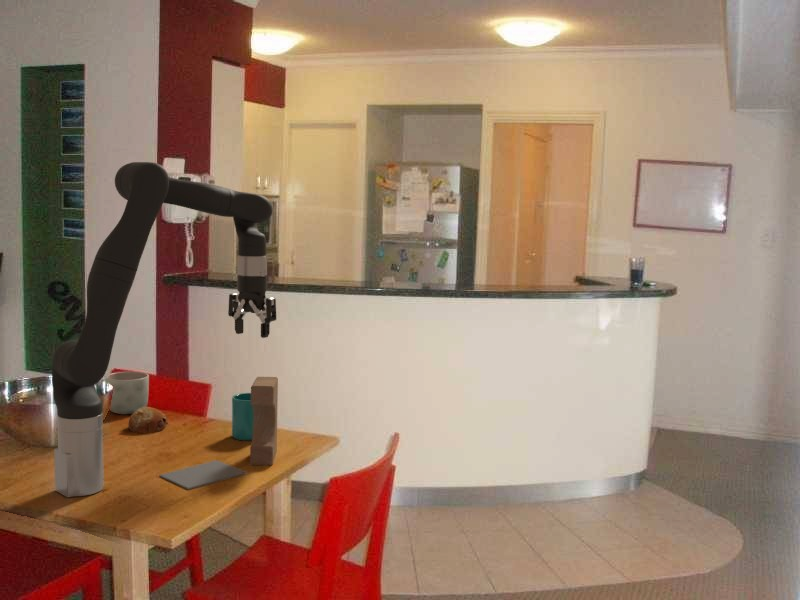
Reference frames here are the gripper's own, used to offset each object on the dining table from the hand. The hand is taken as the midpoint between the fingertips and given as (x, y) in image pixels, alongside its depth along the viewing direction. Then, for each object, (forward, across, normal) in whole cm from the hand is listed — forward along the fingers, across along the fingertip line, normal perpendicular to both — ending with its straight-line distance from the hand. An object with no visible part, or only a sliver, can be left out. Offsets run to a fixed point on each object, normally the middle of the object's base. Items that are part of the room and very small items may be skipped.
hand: (252, 335), depth 209 cm
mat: (+30, +5, -23) cm, 38 cm away
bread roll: (+30, -35, -4) cm, 46 cm away
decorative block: (+30, +9, -5) cm, 32 cm away
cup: (+30, -6, +8) cm, 32 cm away
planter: (+30, -54, +5) cm, 62 cm away
